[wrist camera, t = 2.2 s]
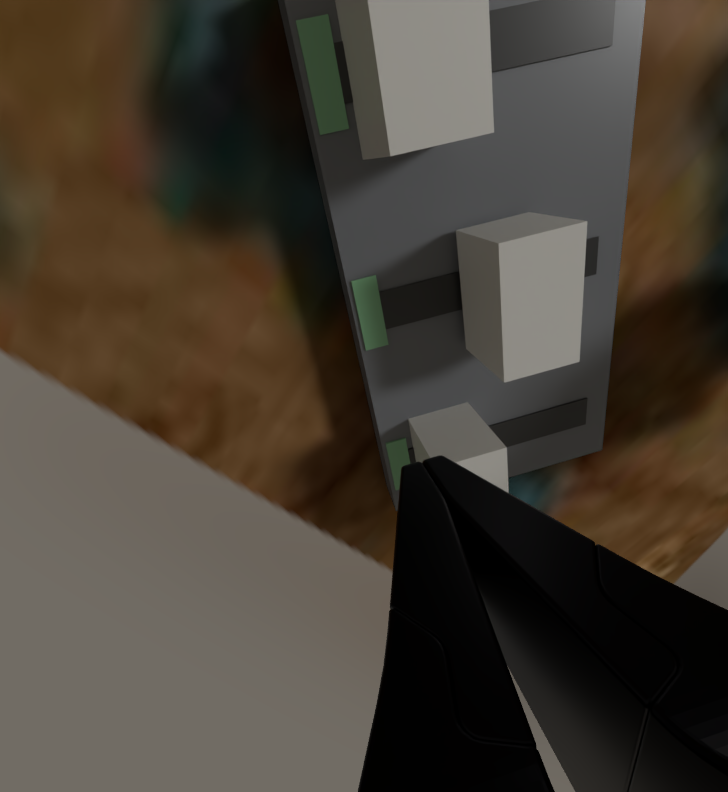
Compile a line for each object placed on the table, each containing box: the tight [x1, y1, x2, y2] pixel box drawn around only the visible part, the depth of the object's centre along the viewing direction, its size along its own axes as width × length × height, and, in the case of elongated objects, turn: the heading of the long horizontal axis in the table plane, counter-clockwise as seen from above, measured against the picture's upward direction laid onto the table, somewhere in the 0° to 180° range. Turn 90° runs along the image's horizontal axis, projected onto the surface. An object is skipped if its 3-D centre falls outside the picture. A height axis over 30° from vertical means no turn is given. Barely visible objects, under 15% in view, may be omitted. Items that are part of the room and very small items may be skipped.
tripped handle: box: [456, 212, 587, 383], centre depth 16 cm, size 3×5×4 cm, turn 12°
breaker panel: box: [278, 0, 646, 511], centre depth 17 cm, size 12×22×6 cm, turn 12°
